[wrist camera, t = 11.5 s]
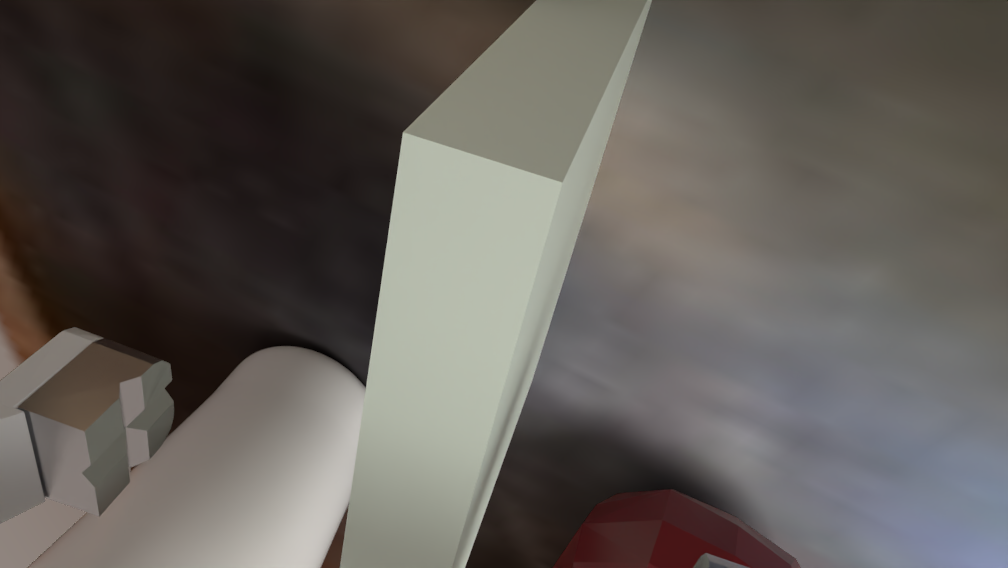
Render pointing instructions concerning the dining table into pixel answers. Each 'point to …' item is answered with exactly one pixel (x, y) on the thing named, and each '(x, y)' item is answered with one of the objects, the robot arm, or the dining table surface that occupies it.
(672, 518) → the heart
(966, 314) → the dining table surface
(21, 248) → the dining table surface
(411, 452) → the sheet
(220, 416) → the drinking glass
